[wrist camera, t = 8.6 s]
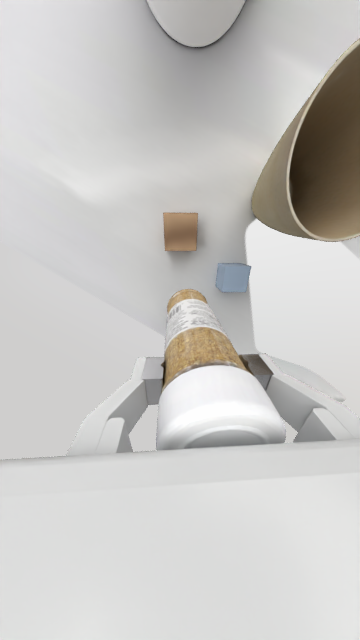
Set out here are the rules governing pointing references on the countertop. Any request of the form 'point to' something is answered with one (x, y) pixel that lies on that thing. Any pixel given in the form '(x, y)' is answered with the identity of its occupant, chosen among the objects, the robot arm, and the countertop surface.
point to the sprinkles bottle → (209, 385)
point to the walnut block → (180, 231)
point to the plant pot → (318, 162)
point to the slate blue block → (232, 277)
